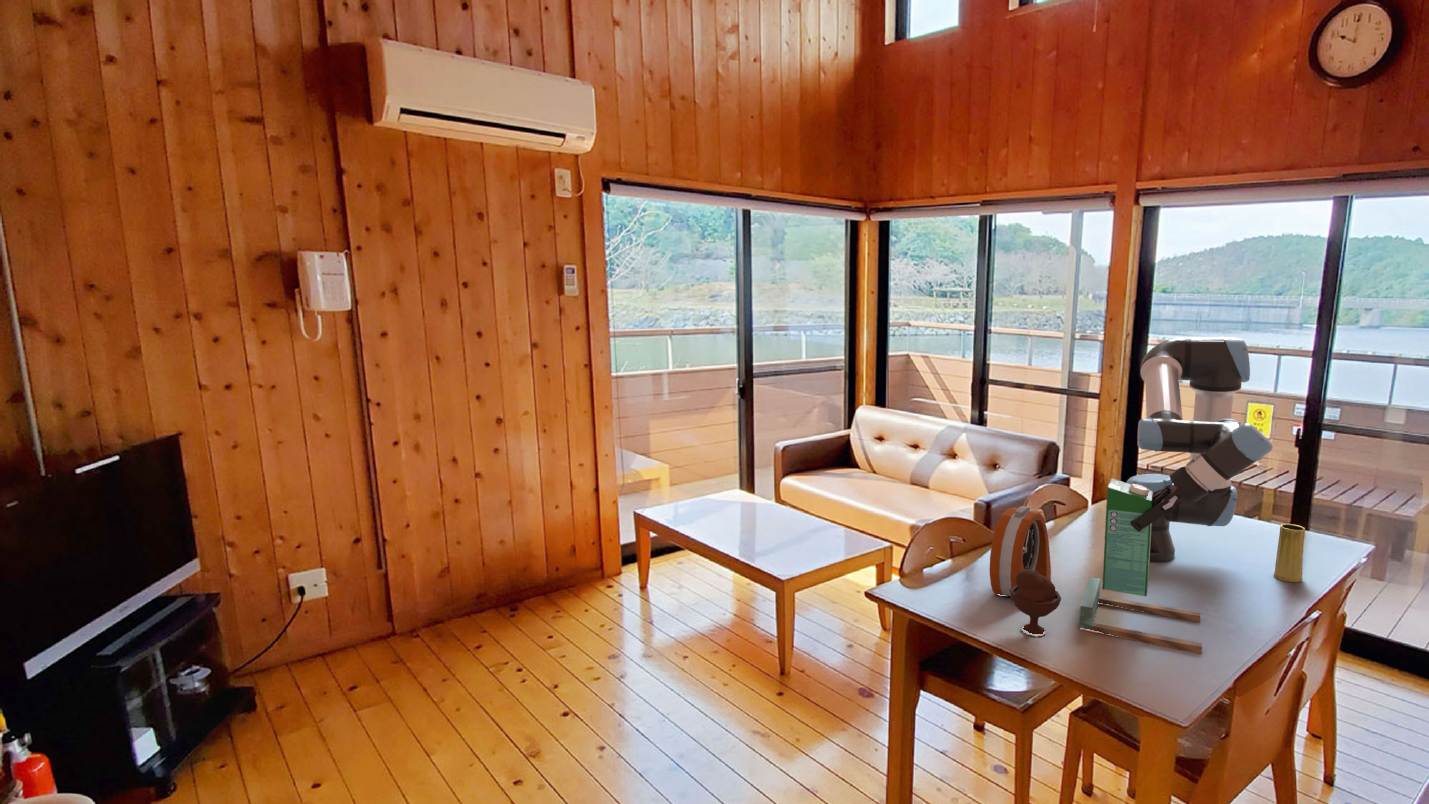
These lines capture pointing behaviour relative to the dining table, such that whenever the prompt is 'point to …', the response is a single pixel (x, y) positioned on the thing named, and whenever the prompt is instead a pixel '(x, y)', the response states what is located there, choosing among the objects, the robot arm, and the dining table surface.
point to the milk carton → (1126, 539)
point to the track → (1093, 598)
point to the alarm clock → (1018, 548)
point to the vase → (1290, 553)
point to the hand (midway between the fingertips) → (1109, 538)
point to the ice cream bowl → (1034, 597)
